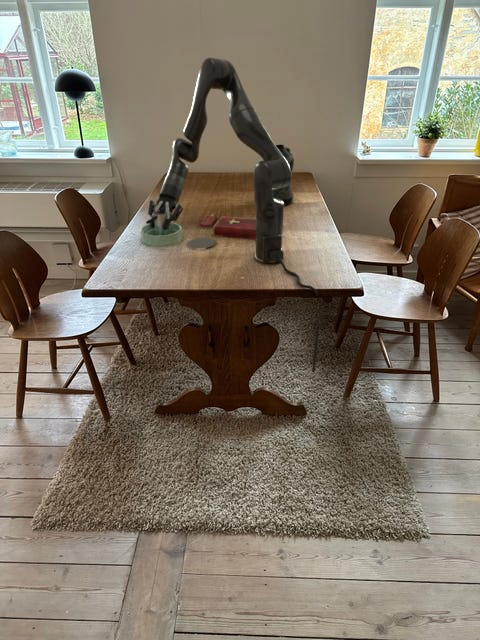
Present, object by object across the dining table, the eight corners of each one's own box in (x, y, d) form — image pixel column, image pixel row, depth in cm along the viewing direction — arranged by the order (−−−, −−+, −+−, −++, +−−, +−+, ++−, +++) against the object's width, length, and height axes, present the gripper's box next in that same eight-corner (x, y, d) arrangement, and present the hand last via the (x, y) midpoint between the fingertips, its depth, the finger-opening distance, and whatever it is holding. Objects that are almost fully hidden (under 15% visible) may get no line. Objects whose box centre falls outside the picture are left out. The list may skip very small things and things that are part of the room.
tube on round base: (160, 235, 177) (157, 210, 171) (171, 237, 175) (168, 211, 170) (143, 245, 168) (140, 219, 163) (155, 247, 166) (152, 220, 161)
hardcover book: (266, 240, 173) (266, 230, 171) (213, 235, 177) (213, 225, 175) (272, 229, 183) (272, 219, 181) (222, 225, 187) (221, 215, 185)
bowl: (184, 245, 169) (183, 234, 167) (142, 249, 166) (141, 237, 164) (180, 231, 182) (179, 220, 180) (141, 234, 179) (139, 223, 177)
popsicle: (218, 212, 196) (210, 224, 184) (218, 216, 197) (210, 228, 185) (208, 211, 197) (199, 223, 185) (208, 215, 198) (199, 228, 186)
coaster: (216, 248, 167) (216, 246, 167) (189, 250, 165) (189, 249, 165) (212, 238, 175) (212, 236, 175) (186, 240, 173) (186, 239, 173)
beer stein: (256, 205, 209) (256, 149, 196) (261, 193, 226) (262, 140, 213) (291, 207, 207) (295, 150, 194) (295, 195, 223) (298, 141, 210)
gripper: (151, 180, 172) (137, 221, 169) (184, 184, 167) (170, 226, 164) (160, 191, 179) (146, 230, 176) (192, 195, 174) (178, 235, 171)
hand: (158, 228), depth 170 cm, fingers closed on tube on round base, 5 cm apart
